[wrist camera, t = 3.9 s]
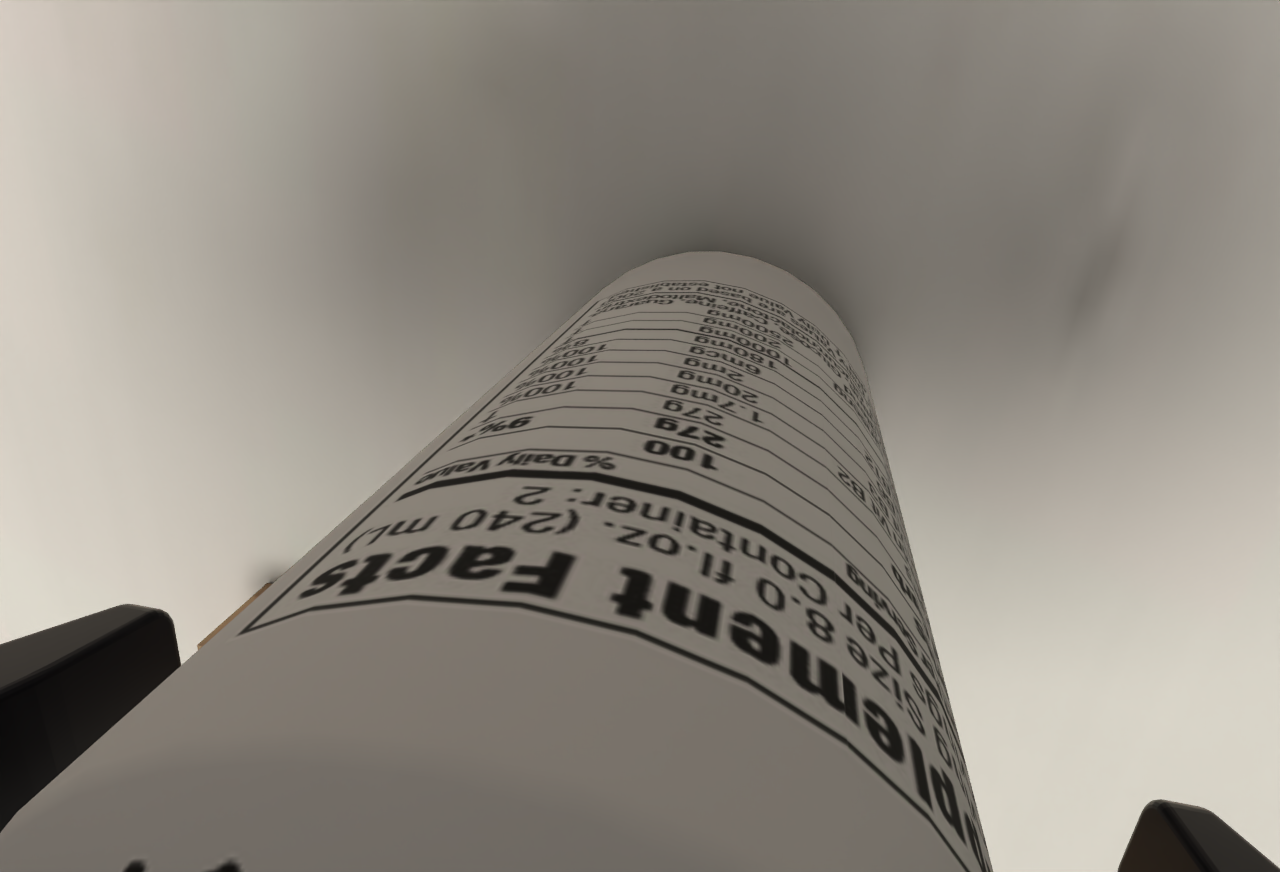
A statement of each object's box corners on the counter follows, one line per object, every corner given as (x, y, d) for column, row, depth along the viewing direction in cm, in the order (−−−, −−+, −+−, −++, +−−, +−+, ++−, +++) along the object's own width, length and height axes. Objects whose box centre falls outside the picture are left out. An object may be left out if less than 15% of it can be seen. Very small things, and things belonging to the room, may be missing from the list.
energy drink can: (513, 408, 17) (-566, 1523, 4) (687, 175, 15) (-547, 851, 1) (732, 577, 18) (509, 2100, 4) (932, 377, 16) (1953, 2401, 2)
